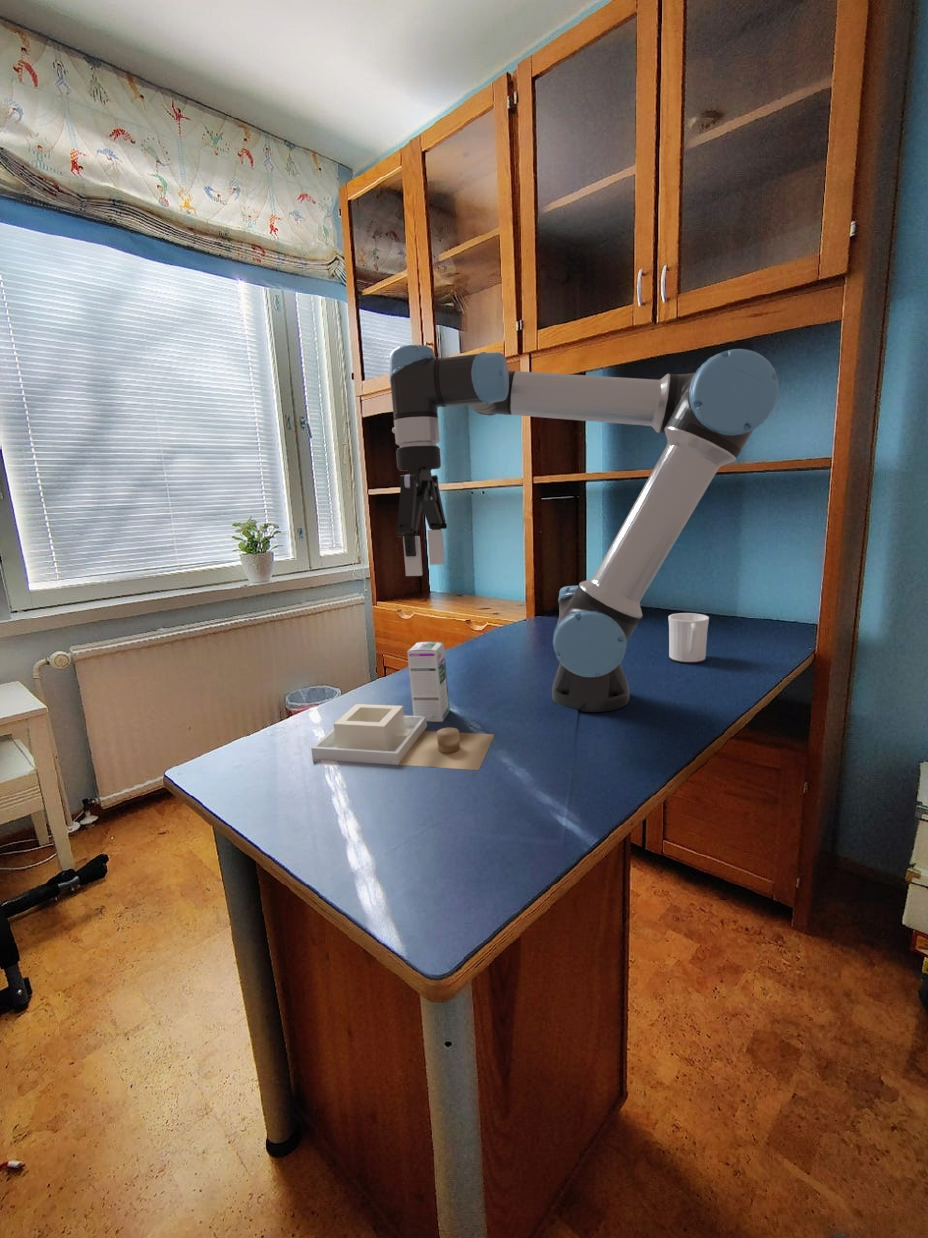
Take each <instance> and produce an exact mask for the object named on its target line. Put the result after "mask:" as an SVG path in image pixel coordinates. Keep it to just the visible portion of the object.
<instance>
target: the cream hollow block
mask: <svg viewBox="0 0 928 1238" xmlns="http://www.w3.org/2000/svg"><path fill="white" fill-rule="evenodd" d="M404 712H405V711H404V705H391V704H366V703H365V704H363V703H355V704H354V706H352V707H351V708H350V709H349V710H348V711H347V712H345V713H344V714H343V715H342V716H340V717H339V718H338V719H337V720H336V721H335V722H334V723H333V728H334V732H335V741H336V748H345V749H361V750H377V751H390V750H391V749H392V748H393V747H394V746H400V745H401V744H402V742H403V741H404V740H405V739H406V737H407V736H408V735H409V734H410V732H411V731H412V730H405V722H404V715H405V713H404Z"/></svg>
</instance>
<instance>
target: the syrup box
mask: <svg viewBox="0 0 928 1238" xmlns="http://www.w3.org/2000/svg"><path fill="white" fill-rule="evenodd" d="M445 651H446V650H445V643H444V642H441V641H420V642H416V643H415V644H414V645H412V647H410V648H409V649H408V650H407V651H406V653H407V661H408V662H407V663H408V672H409V673H408V674H409V686H410V694H411V695H410V696H411V704H412V716H426V718H427V722H436V723H437V722H440V723H441V722H444V720H445V718H446V717H447V715H448V714H449V712H450V702H449V701H450V700H449V699H450V698H449V688H448V687H449V686H448V677H447V674H448V673H447V665H446V652H445Z"/></svg>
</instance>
